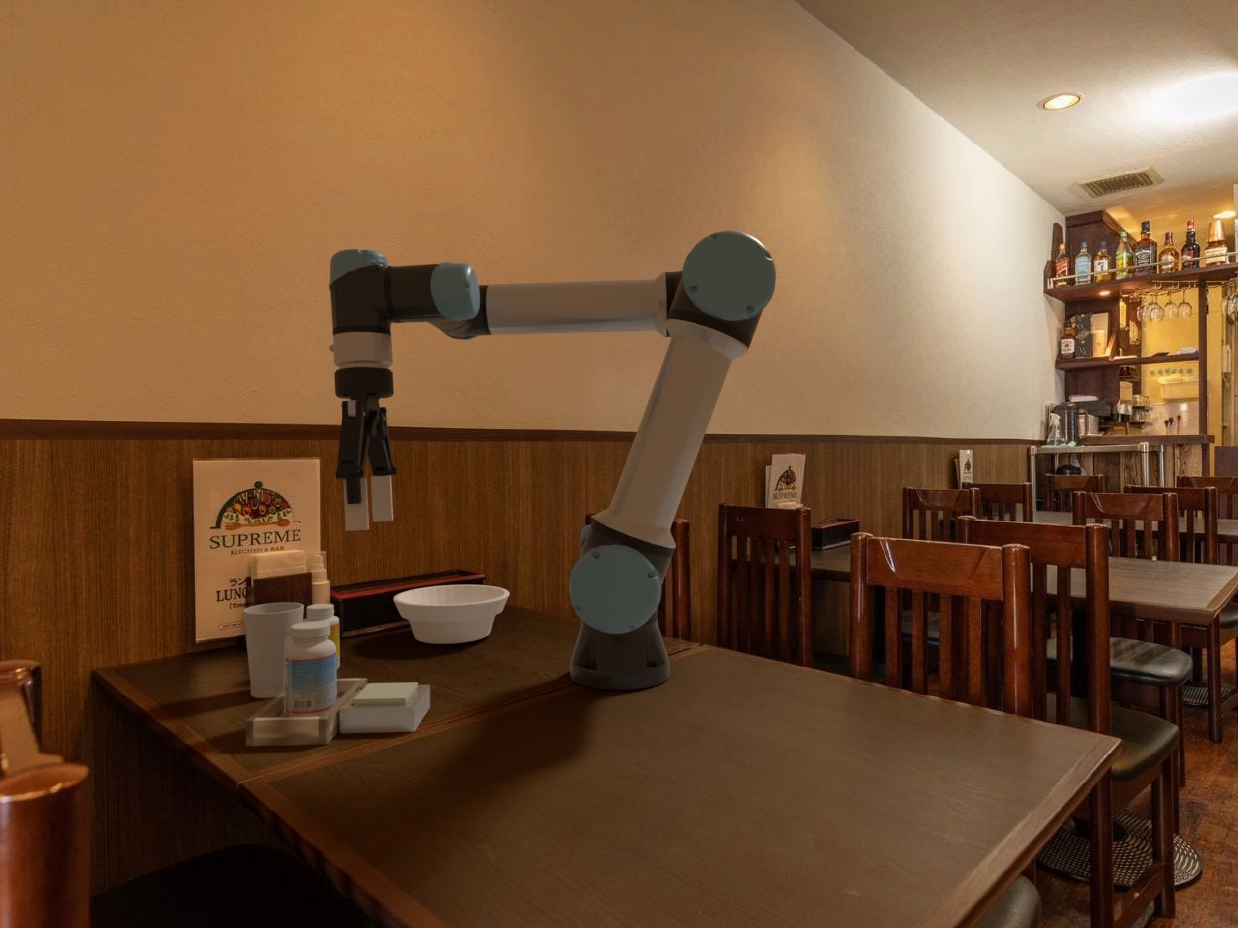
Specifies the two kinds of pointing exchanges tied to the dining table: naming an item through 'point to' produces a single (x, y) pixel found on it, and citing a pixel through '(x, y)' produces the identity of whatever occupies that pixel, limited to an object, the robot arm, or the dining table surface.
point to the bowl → (451, 611)
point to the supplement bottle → (326, 615)
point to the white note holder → (384, 714)
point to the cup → (269, 645)
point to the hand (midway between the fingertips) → (371, 525)
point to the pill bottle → (310, 670)
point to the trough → (298, 721)
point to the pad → (386, 694)
